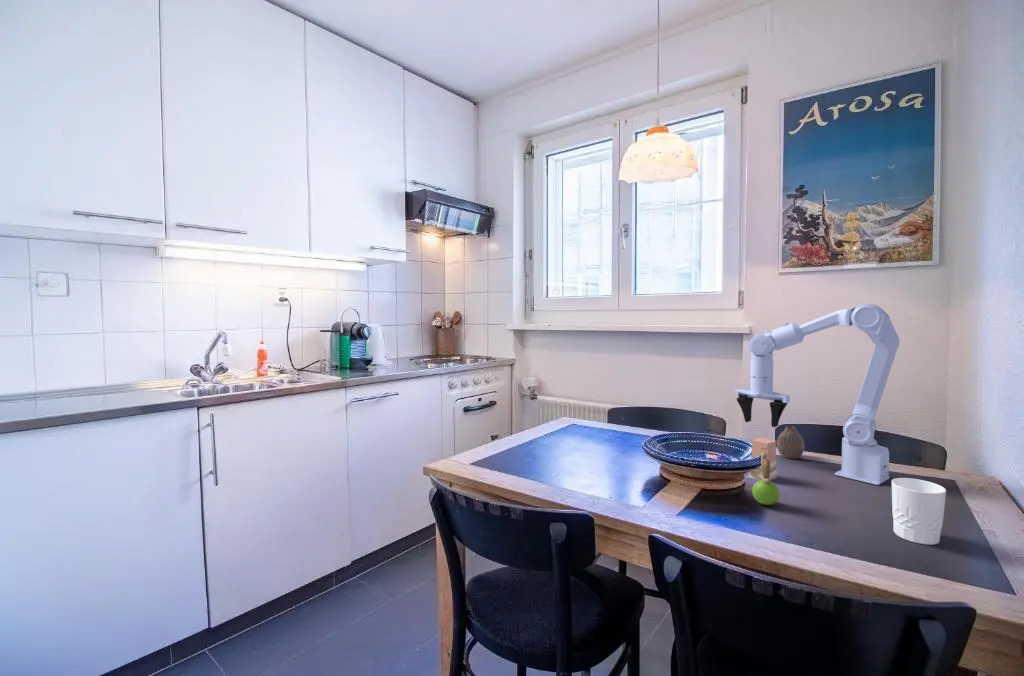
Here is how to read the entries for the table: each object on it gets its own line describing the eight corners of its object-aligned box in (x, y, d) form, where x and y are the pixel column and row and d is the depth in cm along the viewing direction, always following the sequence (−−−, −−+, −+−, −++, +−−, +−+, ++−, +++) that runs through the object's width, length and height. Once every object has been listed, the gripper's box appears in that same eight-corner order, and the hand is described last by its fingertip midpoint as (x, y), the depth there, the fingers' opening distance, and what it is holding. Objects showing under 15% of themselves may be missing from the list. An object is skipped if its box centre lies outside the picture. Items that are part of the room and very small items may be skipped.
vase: (796, 453, 142) (797, 424, 142) (808, 460, 135) (809, 430, 135) (772, 453, 143) (772, 424, 142) (783, 460, 136) (783, 430, 135)
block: (775, 460, 122) (776, 441, 122) (767, 463, 120) (767, 443, 120) (760, 456, 126) (760, 437, 125) (751, 459, 123) (752, 440, 123)
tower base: (777, 479, 123) (777, 469, 123) (767, 483, 120) (767, 473, 120) (758, 473, 127) (758, 464, 127) (747, 478, 124) (747, 468, 124)
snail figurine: (775, 499, 110) (776, 447, 109) (781, 510, 103) (782, 456, 103) (749, 496, 111) (750, 445, 110) (753, 507, 105) (754, 454, 104)
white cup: (879, 528, 95) (880, 478, 94) (916, 525, 95) (917, 476, 95) (916, 548, 87) (918, 494, 86) (956, 545, 87) (958, 492, 87)
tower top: (776, 469, 123) (776, 459, 123) (768, 474, 120) (768, 464, 119) (756, 464, 127) (756, 455, 126) (748, 469, 123) (748, 459, 123)
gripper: (729, 375, 139) (729, 421, 140) (781, 381, 127) (780, 431, 128) (742, 373, 143) (742, 417, 144) (793, 378, 131) (792, 427, 132)
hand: (761, 423), depth 136 cm, fingers open, 7 cm apart
